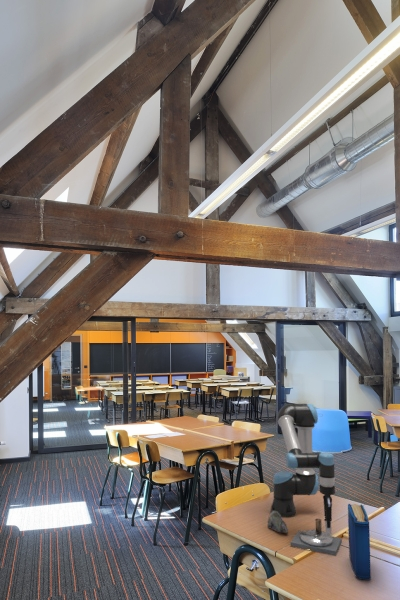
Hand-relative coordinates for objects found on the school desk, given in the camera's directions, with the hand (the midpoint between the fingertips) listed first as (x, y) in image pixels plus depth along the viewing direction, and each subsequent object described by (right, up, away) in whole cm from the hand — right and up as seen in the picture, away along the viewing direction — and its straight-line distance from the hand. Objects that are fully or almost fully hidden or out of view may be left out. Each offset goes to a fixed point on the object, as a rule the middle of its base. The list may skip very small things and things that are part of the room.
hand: (328, 533), depth 222 cm
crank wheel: (-6, -4, 0) cm, 7 cm away
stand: (-6, -6, 0) cm, 8 cm away
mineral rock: (-23, -8, +16) cm, 29 cm away
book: (+7, -3, -25) cm, 26 cm away
